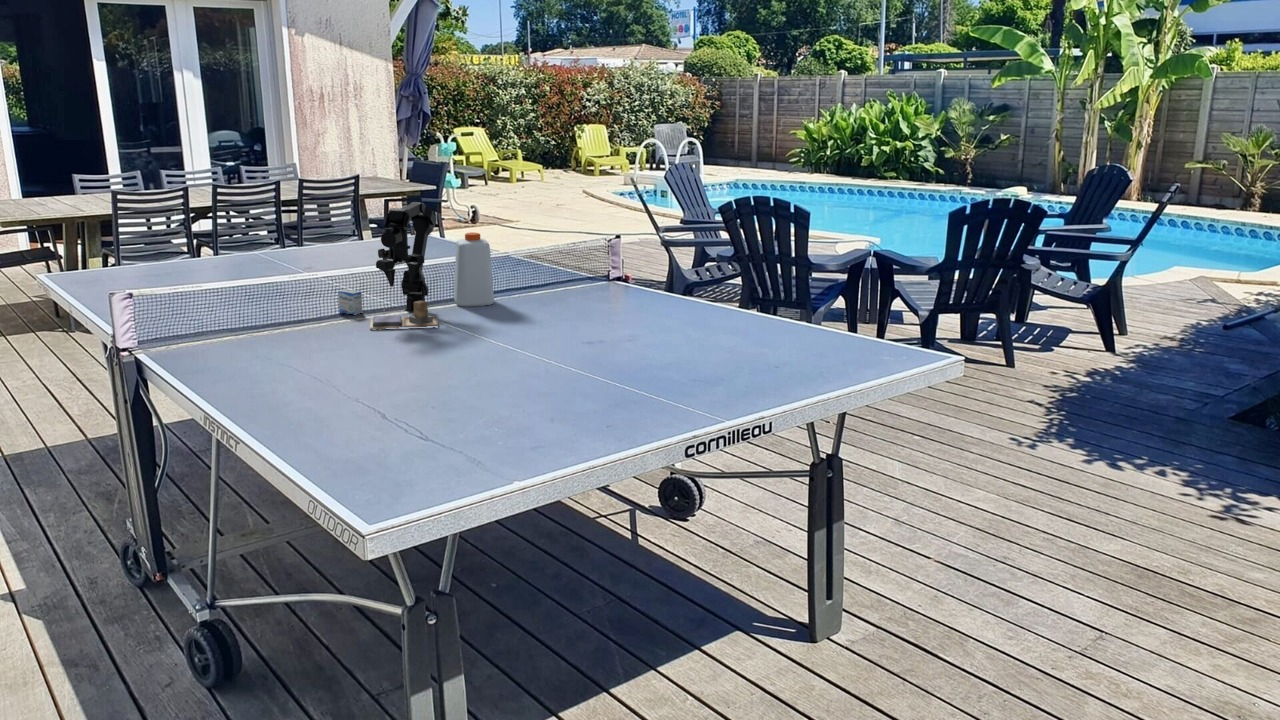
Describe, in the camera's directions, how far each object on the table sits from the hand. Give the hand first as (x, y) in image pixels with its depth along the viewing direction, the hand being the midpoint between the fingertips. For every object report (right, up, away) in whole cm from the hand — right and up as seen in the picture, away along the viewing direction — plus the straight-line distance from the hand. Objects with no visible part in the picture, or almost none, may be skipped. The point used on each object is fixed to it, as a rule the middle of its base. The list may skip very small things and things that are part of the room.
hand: (401, 284), depth 373 cm
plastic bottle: (+22, -5, +31) cm, 38 cm away
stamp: (+8, -14, -4) cm, 17 cm away
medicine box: (-21, -10, +9) cm, 25 cm away
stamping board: (+2, -15, -5) cm, 16 cm away
